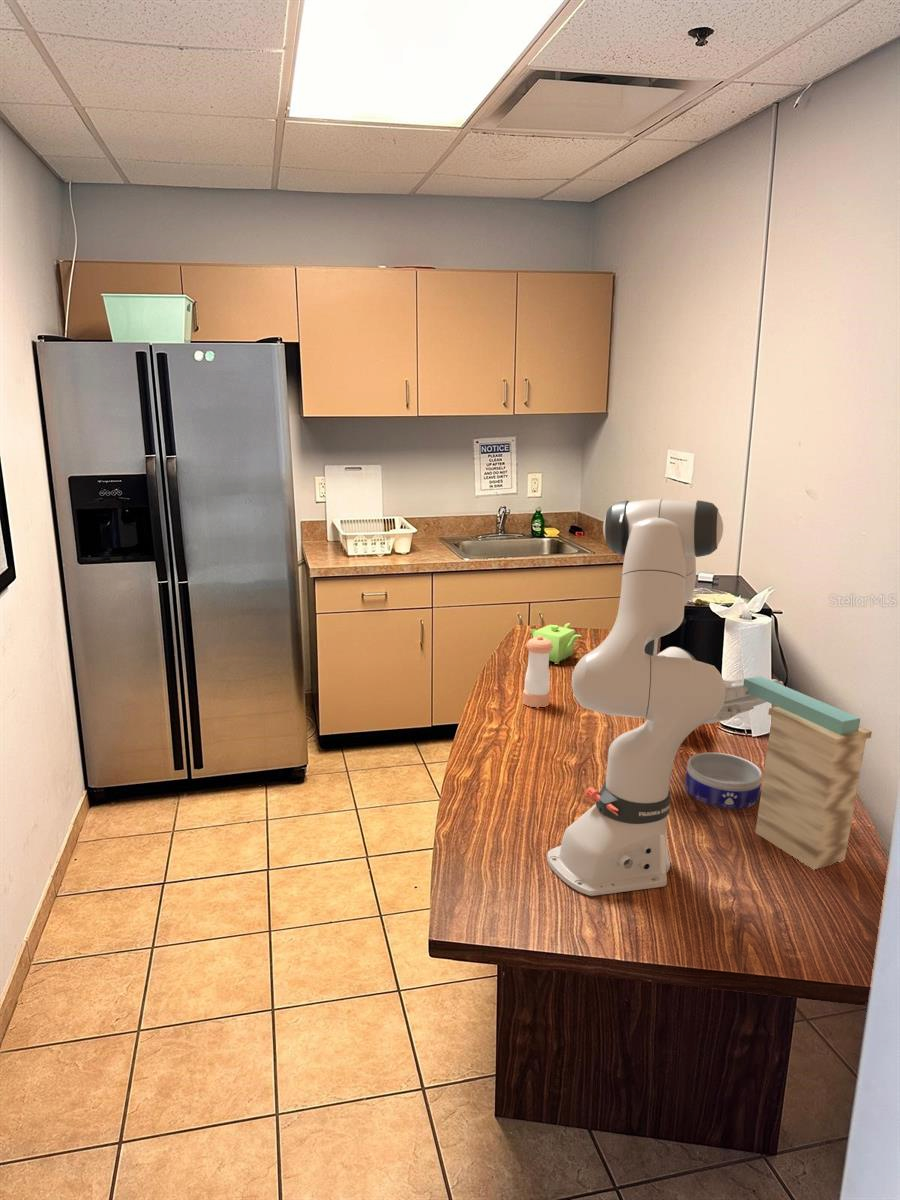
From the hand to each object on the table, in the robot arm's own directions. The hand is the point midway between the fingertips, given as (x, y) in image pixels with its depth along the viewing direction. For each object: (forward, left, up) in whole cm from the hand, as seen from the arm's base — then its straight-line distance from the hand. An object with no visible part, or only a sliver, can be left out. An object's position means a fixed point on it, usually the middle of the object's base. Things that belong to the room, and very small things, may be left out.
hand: (763, 688), depth 161 cm
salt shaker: (-9, +68, -27) cm, 74 cm away
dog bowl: (+2, +9, -28) cm, 29 cm away
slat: (0, -8, -1) cm, 8 cm away
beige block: (0, -13, -27) cm, 30 cm away
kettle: (+16, +98, -28) cm, 103 cm away
